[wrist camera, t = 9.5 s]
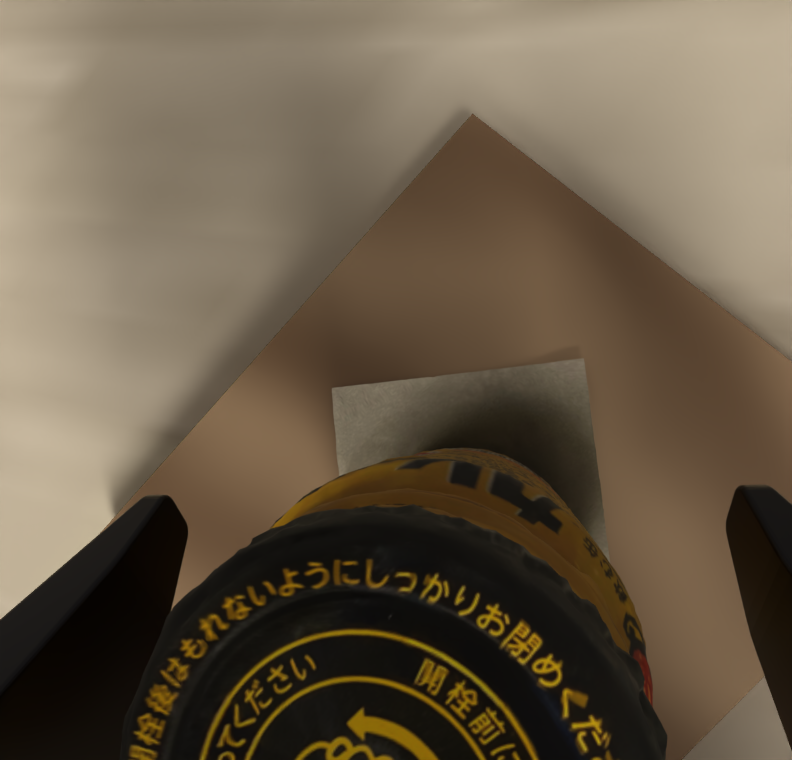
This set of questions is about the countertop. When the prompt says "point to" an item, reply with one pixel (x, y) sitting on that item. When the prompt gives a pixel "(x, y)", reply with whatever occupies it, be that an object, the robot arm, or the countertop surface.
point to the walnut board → (511, 347)
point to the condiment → (419, 597)
